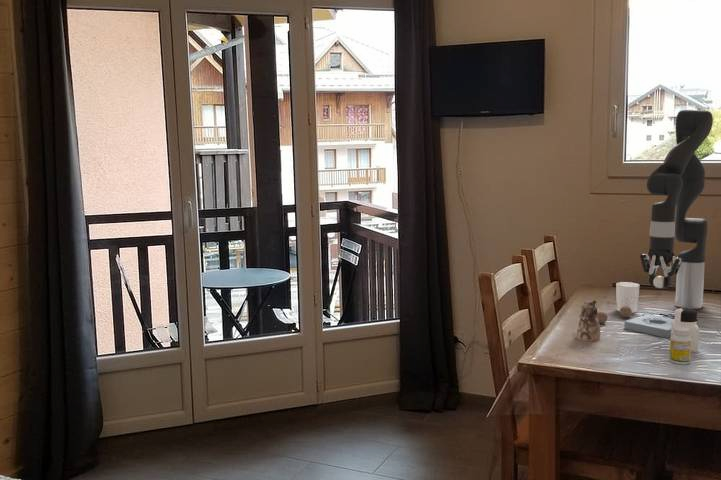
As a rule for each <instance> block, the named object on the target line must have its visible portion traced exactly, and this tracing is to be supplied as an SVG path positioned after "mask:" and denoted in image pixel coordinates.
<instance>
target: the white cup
mask: <svg viewBox="0 0 721 480" xmlns="http://www.w3.org/2000/svg"><path fill="white" fill-rule="evenodd" d="M615 284H616V285H615V286H616V288H615V289H616V290H615V291H616V293H615V294H616V295H615V297H616V310H617V312H619V313H620V309H621V308H622V307H624V306H628V307H630V308H631V310H632V314H633V313H635V314H636V312H637V310H638V309H637V308H638V303H639V302H638V301H639V294H640V293H639V292H640V284H639V283H638V282H637V283H635V282H628V281H626V282H625V281H619V282H616V283H615Z"/></svg>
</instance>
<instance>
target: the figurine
mask: <svg viewBox="0 0 721 480" xmlns="http://www.w3.org/2000/svg"><path fill="white" fill-rule="evenodd" d="M596 304H597V301H596V300H593V301H589V300H586V301H585V302H584V303H583V304H582V305H581V313H580V314H578V317H579V320H578V321H579V322H578V327H577V331H576V333H577V334H576V335H577V336H576V339H578V340H581V341H586V342H596V341H599V340H600V338H601V333H602V332H601V325H600V324H601V323H599V320H598V318H597V313H598V308H597V307H596Z"/></svg>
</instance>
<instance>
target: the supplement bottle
mask: <svg viewBox="0 0 721 480" xmlns="http://www.w3.org/2000/svg"><path fill="white" fill-rule="evenodd" d="M674 334H675V335H672V336H671V337H670V340H671V343H670V342H669V343H670V347H669V361H670V363H672V364H675V365H689V364H690V363H691V356H692V355H691V353H692V352H691V338H690V337H689V336H688V335H689V329H687V328H682V327H676V328H674Z"/></svg>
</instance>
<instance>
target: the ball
mask: <svg viewBox="0 0 721 480" xmlns="http://www.w3.org/2000/svg"><path fill="white" fill-rule="evenodd" d="M664 277H665V276H662V275H656V277H655V278H654V280H653V284H654V286H653V287H655V288H657V289H664V287H663V285H664Z"/></svg>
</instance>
